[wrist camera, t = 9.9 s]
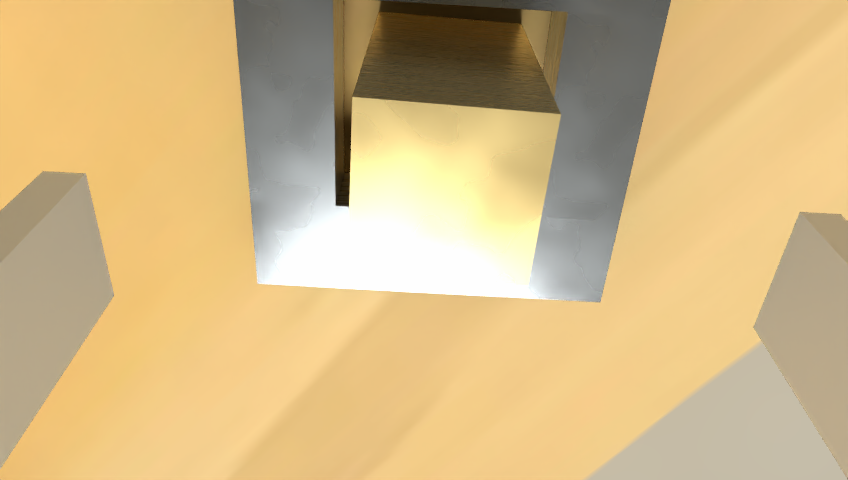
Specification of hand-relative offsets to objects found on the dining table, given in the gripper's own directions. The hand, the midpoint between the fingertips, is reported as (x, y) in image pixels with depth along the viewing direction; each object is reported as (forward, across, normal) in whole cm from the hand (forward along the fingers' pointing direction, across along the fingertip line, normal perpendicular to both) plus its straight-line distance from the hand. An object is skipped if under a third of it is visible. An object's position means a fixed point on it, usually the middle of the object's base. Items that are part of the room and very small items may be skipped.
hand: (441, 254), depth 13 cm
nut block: (+11, 0, -1) cm, 11 cm away
